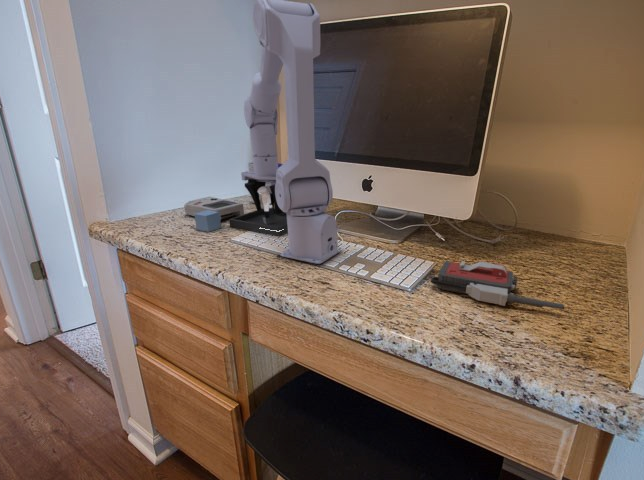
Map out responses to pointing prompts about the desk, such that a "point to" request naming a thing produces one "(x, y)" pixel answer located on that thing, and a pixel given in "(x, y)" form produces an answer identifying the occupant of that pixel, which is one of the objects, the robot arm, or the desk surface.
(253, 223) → the tray
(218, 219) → the blue block
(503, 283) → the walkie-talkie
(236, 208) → the handheld gaming device
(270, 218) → the milkshake
